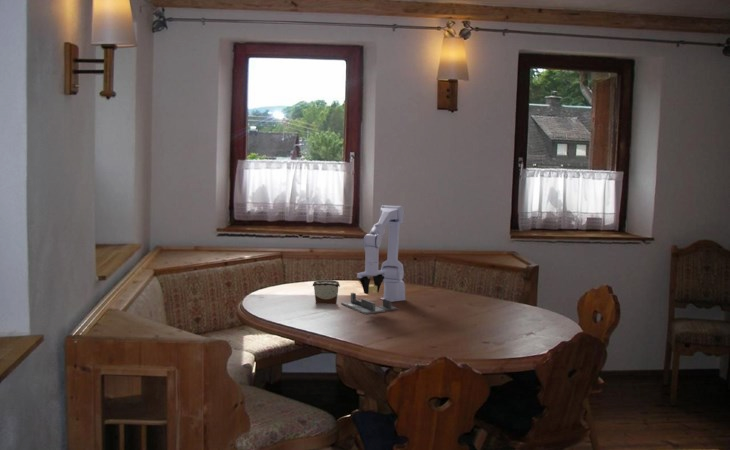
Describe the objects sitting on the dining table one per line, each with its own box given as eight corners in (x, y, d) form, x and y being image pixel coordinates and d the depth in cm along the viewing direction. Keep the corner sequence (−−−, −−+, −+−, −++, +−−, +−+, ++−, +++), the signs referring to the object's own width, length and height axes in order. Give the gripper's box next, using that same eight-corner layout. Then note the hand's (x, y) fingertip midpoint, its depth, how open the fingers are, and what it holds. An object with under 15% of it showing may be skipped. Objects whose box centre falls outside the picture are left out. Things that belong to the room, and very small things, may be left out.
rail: (360, 302, 353) (360, 291, 352) (385, 311, 335) (385, 300, 334) (341, 304, 347) (341, 293, 347) (365, 314, 330) (365, 302, 329)
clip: (365, 292, 335) (365, 284, 335) (374, 292, 337) (374, 284, 336) (368, 294, 332) (368, 286, 331) (377, 294, 333) (377, 286, 332)
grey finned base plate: (388, 306, 345) (388, 297, 344) (397, 309, 339) (397, 300, 338) (377, 307, 341) (377, 299, 341) (385, 311, 335) (385, 302, 335)
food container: (341, 301, 353) (341, 280, 352) (339, 304, 347) (339, 282, 346) (314, 300, 354) (314, 279, 353) (312, 303, 348) (312, 281, 347)
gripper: (379, 259, 340) (378, 289, 342) (352, 262, 331) (352, 293, 333) (389, 261, 334) (388, 292, 336) (362, 264, 326) (362, 296, 327)
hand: (371, 292), depth 334 cm, fingers closed on clip, 5 cm apart
